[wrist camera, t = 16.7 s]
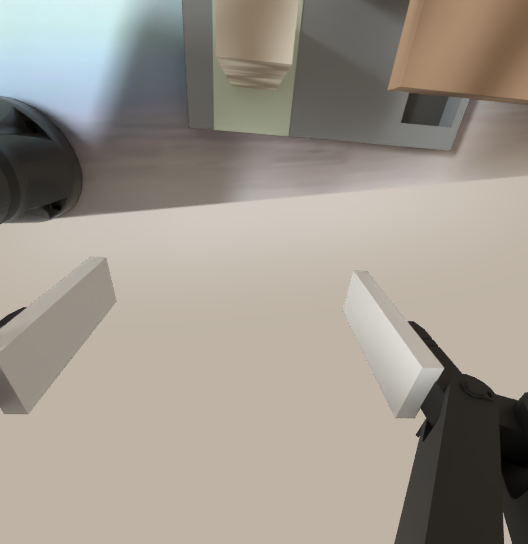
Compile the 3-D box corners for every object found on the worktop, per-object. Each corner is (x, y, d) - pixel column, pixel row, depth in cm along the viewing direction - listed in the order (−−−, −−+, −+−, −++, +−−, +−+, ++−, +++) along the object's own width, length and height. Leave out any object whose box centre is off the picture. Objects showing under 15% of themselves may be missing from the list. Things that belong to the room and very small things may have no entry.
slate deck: (193, 127, 34) (188, 127, 31) (186, -41, 26) (178, -61, 24) (435, 148, 36) (451, 150, 33) (489, -1, 29) (514, -15, 26)
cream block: (231, 86, 29) (215, 56, 17) (232, 13, 26) (214, -86, 14) (275, 90, 29) (291, 64, 17) (281, 19, 27) (306, -73, 14)
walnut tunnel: (316, 110, 31) (400, 86, 13) (338, -38, 25) (540, -425, 7) (397, 117, 31) (580, 105, 14) (437, -24, 26) (835, -349, 8)
